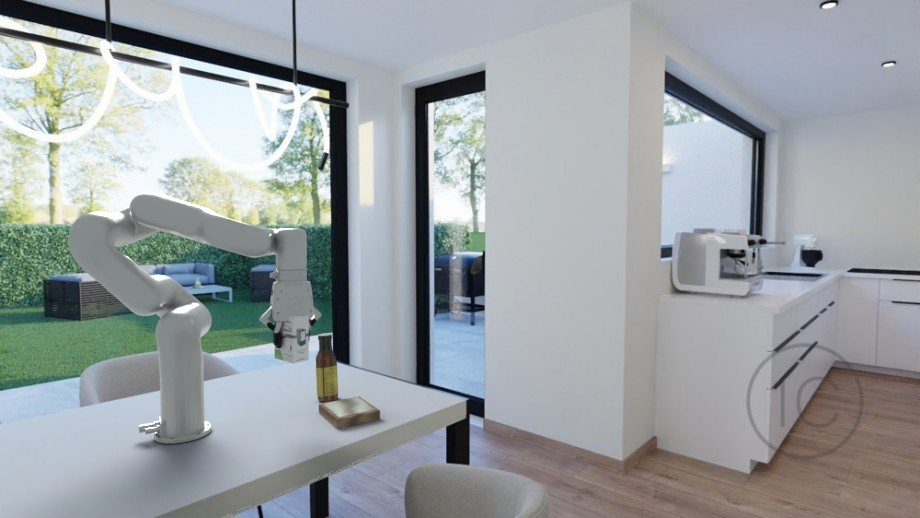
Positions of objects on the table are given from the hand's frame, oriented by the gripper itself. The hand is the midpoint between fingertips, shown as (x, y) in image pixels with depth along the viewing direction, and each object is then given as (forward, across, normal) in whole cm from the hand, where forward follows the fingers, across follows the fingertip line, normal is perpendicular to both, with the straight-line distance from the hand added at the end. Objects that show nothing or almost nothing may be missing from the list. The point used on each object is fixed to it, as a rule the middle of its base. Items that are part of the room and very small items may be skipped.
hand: (291, 345), depth 130 cm
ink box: (+4, 0, 0) cm, 4 cm away
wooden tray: (+21, +15, -1) cm, 26 cm away
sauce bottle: (+21, +15, +16) cm, 31 cm away
